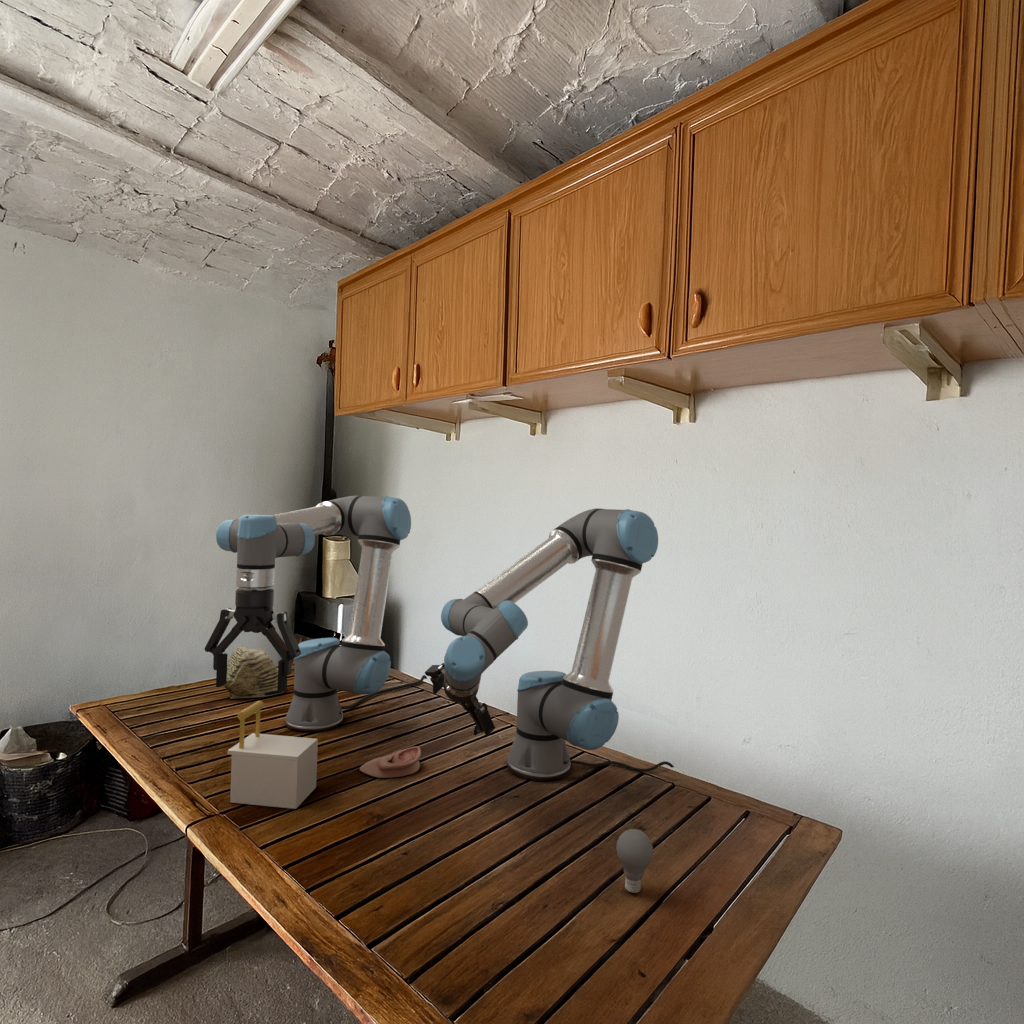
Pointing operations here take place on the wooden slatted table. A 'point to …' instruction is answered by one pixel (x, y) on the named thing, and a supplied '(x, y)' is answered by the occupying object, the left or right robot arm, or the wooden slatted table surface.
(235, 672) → the fossil
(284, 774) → the chest
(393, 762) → the anatomical model
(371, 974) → the wooden slatted table surface
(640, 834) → the light bulb
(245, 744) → the lid
